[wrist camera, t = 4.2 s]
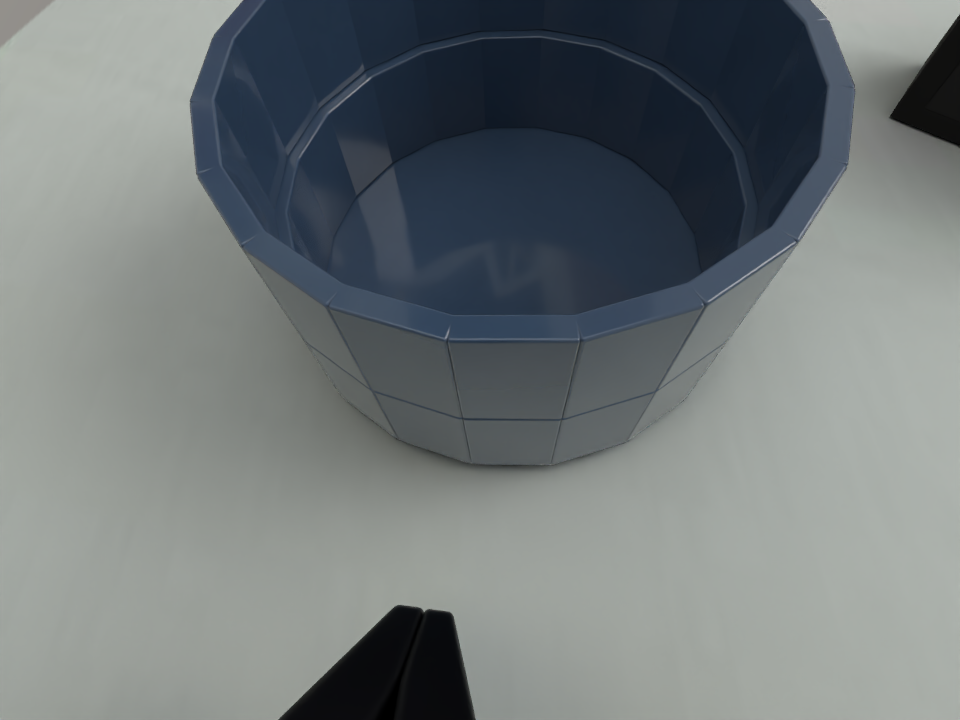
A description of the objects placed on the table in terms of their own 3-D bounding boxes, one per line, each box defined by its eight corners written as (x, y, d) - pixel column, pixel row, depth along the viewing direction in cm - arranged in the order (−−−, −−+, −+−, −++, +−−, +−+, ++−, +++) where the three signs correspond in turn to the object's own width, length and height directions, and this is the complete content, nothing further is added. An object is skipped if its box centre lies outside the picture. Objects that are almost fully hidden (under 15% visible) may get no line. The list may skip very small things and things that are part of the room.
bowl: (815, 307, 20) (1007, 99, 12) (452, 572, 16) (406, 512, 9) (548, 76, 26) (564, -162, 18) (240, 236, 22) (103, 26, 15)
